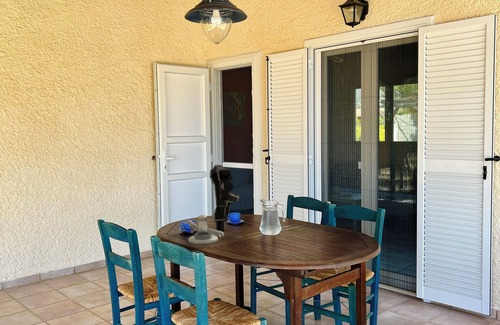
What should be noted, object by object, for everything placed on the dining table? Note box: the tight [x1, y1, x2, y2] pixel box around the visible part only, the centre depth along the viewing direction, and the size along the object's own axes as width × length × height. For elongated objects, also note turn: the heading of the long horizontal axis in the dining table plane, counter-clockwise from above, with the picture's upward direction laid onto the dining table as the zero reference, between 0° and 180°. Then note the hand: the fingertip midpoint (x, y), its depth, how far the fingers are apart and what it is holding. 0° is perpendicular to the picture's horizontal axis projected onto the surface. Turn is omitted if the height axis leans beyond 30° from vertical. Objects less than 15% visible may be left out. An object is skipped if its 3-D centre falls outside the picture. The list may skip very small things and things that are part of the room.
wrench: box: [183, 219, 225, 238], centre depth 287 cm, size 8×2×30 cm
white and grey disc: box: [188, 231, 219, 245], centre depth 271 cm, size 17×17×4 cm
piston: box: [197, 214, 208, 235], centre depth 271 cm, size 5×5×13 cm
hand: (225, 215), depth 279 cm, fingers open, 9 cm apart
